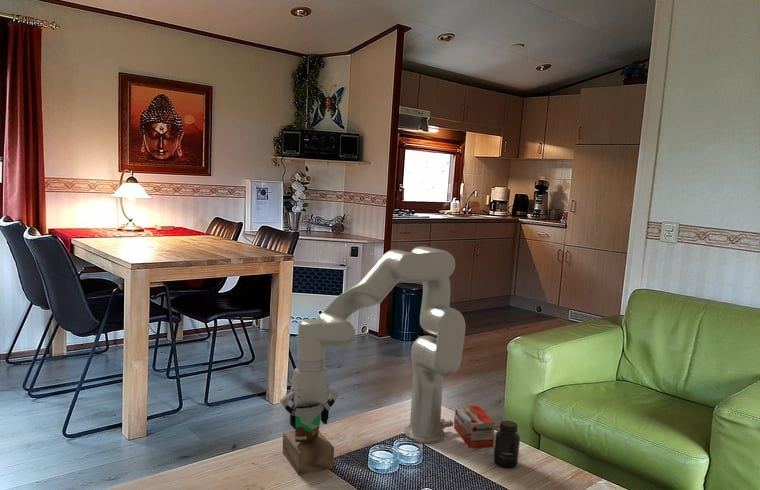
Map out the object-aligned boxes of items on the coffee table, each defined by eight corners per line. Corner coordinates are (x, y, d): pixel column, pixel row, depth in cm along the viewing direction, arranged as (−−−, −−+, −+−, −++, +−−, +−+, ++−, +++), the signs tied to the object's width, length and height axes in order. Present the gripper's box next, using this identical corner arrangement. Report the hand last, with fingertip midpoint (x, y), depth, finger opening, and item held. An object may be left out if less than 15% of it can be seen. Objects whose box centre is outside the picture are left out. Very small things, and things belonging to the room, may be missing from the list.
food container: (315, 447, 154) (317, 411, 152) (293, 444, 155) (295, 408, 154) (327, 428, 166) (329, 395, 165) (307, 425, 167) (308, 392, 166)
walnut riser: (315, 446, 169) (315, 427, 168) (333, 468, 157) (334, 447, 156) (282, 452, 164) (283, 432, 164) (298, 475, 152) (299, 453, 151)
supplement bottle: (504, 471, 160) (507, 430, 158) (488, 460, 166) (491, 420, 164) (522, 466, 163) (526, 426, 162) (507, 456, 169) (510, 417, 168)
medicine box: (453, 428, 187) (454, 404, 186) (476, 427, 189) (478, 404, 188) (469, 449, 172) (470, 424, 172) (494, 448, 174) (496, 423, 173)
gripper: (334, 357, 165) (332, 415, 167) (276, 363, 157) (275, 424, 159) (345, 365, 159) (343, 425, 160) (284, 372, 151) (283, 435, 152)
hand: (309, 424), depth 160 cm, fingers closed on food container, 8 cm apart
